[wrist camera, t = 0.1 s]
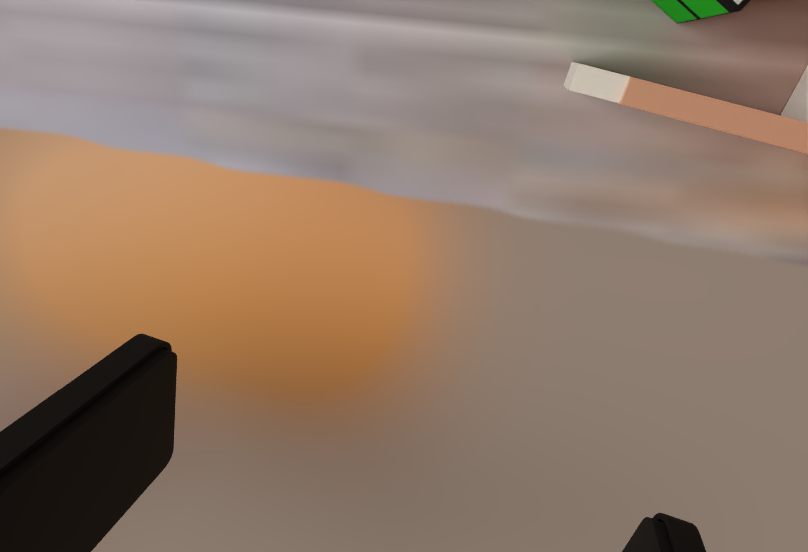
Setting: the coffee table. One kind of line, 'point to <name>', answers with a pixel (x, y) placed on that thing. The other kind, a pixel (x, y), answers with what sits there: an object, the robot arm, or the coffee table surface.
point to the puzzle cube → (698, 8)
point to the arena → (700, 106)
